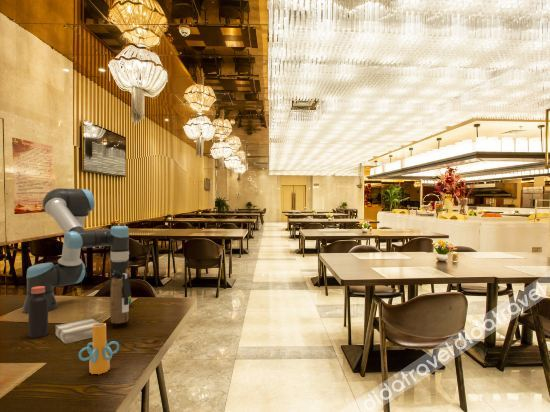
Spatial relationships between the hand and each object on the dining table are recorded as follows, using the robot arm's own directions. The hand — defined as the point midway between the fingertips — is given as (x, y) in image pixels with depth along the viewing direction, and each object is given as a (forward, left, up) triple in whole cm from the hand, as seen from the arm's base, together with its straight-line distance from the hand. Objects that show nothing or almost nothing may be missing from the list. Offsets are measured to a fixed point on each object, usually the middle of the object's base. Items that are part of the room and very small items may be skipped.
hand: (119, 309), depth 165 cm
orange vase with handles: (+41, -23, -7) cm, 48 cm away
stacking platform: (0, -17, -7) cm, 19 cm away
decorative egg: (-29, +13, -7) cm, 32 cm away
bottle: (-11, -29, -7) cm, 32 cm away
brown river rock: (0, 0, -5) cm, 5 cm away
